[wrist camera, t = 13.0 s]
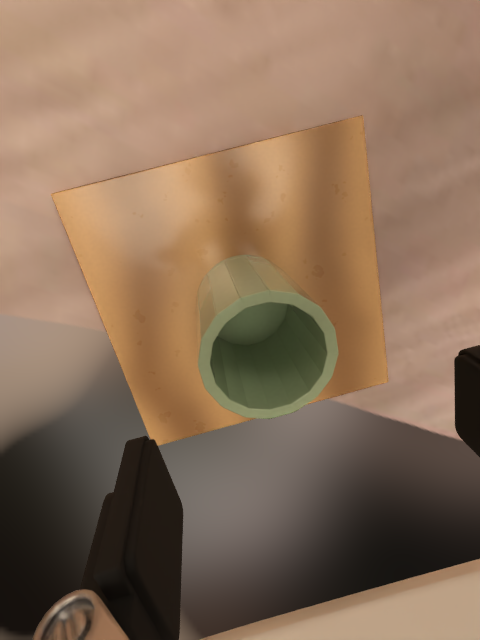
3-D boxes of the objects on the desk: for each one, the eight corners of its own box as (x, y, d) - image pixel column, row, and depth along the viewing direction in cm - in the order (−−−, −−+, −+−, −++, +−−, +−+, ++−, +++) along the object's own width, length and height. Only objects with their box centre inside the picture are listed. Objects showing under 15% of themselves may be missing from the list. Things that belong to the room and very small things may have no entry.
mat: (359, 116, 24) (363, 114, 23) (385, 378, 31) (388, 382, 31) (53, 193, 23) (50, 194, 23) (154, 442, 31) (153, 447, 30)
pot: (282, 243, 26) (327, 274, 17) (299, 333, 28) (345, 398, 20) (183, 269, 25) (181, 313, 17) (210, 357, 28) (219, 433, 20)
